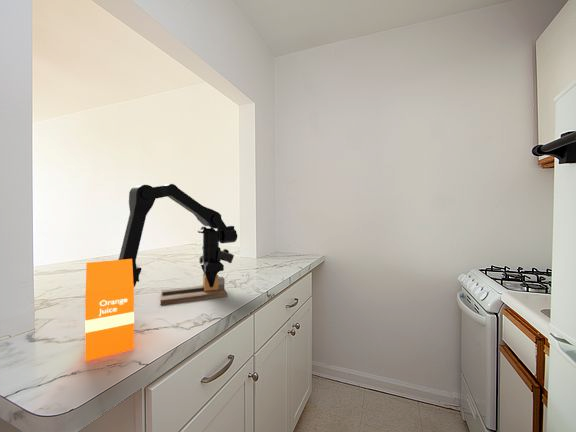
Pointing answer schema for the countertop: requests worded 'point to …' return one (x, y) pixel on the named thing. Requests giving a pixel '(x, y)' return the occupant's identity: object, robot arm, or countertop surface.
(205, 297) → the track
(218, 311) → the countertop surface
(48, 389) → the countertop surface
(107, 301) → the orange juice
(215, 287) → the block
